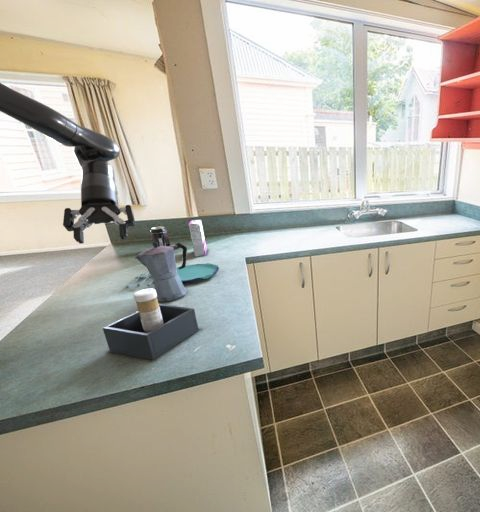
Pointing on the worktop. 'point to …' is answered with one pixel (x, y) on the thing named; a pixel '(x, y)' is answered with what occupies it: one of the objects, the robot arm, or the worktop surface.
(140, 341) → the open box
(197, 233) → the candy bar box
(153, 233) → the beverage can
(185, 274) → the teal oval tray
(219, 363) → the worktop surface
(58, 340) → the worktop surface
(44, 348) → the worktop surface
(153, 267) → the moka pot
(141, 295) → the sprinkles bottle
